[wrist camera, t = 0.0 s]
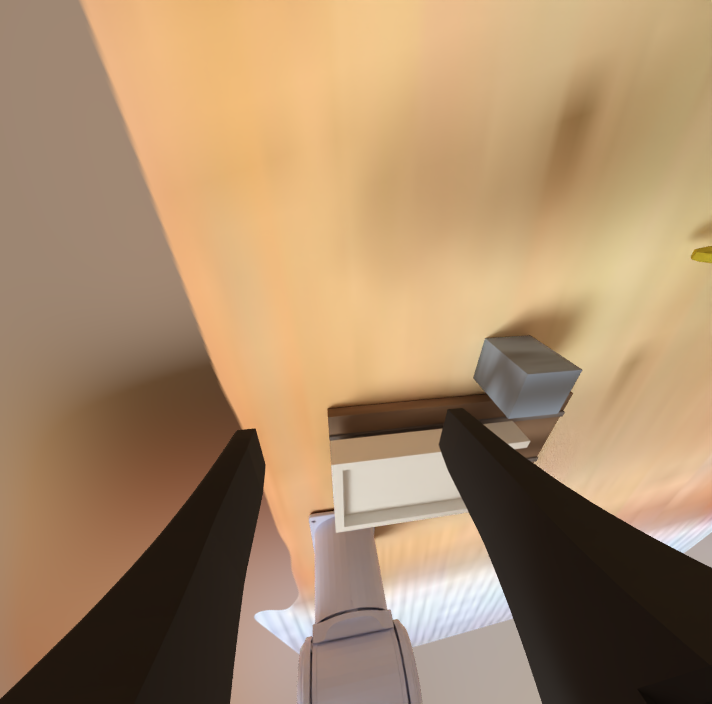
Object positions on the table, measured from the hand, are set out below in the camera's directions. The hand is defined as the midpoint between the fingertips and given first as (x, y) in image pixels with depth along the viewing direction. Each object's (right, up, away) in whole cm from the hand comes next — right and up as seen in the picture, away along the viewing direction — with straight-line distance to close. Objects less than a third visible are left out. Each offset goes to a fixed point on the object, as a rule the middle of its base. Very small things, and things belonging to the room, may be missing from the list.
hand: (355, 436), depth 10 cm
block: (+12, +3, +12) cm, 18 cm away
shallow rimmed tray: (+6, -7, +15) cm, 18 cm away
